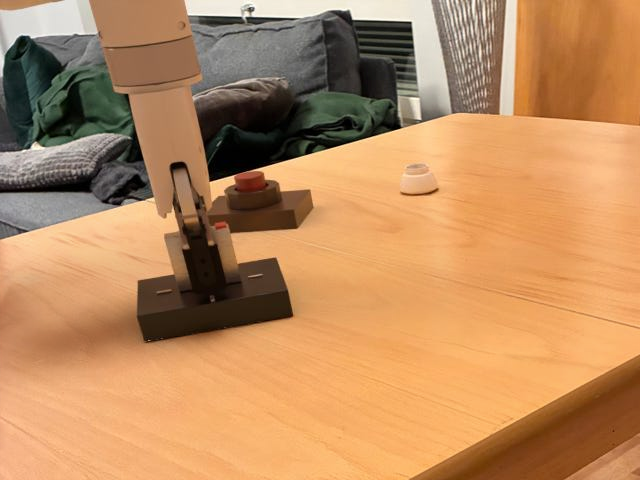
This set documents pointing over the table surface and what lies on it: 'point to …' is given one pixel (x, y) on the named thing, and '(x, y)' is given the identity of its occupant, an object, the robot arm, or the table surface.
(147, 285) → the lever switch base
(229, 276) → the grey switch lever
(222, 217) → the button block
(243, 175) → the button
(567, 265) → the table surface
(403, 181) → the white jar
